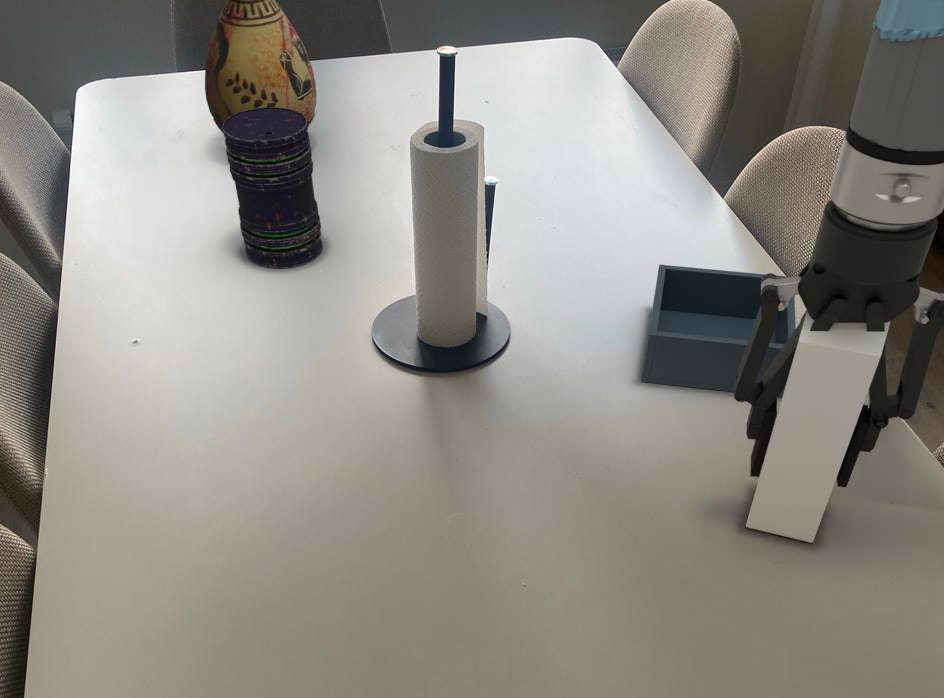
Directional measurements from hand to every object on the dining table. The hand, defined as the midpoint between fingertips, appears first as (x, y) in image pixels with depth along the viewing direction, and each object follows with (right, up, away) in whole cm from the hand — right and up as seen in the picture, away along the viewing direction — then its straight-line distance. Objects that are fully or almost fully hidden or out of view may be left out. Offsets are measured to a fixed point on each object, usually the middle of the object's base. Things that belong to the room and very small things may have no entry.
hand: (797, 471), depth 82 cm
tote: (-2, +17, +21) cm, 27 cm away
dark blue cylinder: (-52, +35, +37) cm, 73 cm away
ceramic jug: (-58, +58, +58) cm, 100 cm away
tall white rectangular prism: (0, -3, +4) cm, 5 cm away
